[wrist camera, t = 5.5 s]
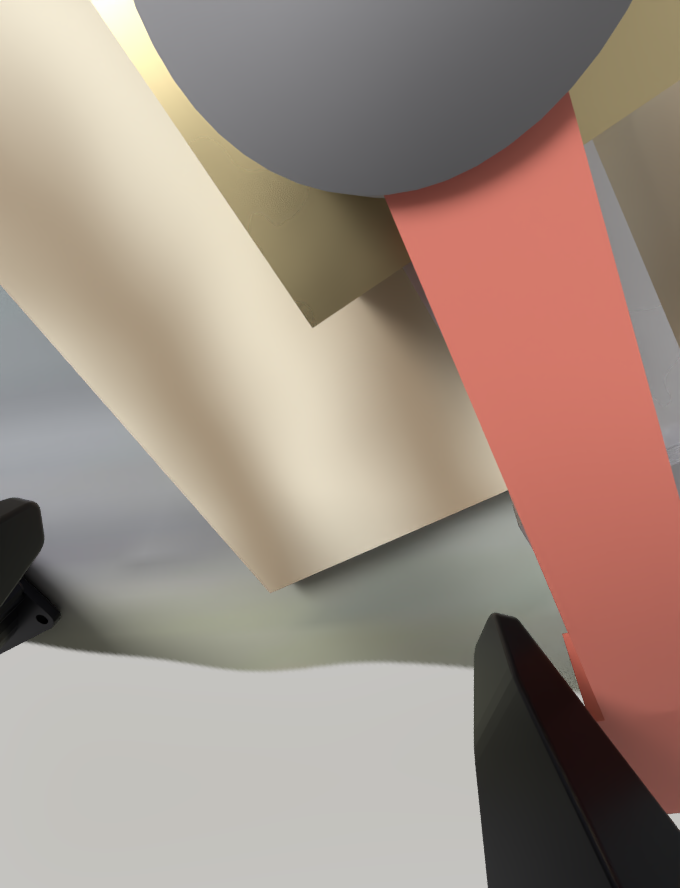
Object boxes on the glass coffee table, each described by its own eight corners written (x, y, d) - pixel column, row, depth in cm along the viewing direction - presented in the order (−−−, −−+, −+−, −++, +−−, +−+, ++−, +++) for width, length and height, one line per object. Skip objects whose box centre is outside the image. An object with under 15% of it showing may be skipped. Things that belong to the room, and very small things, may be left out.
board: (278, 571, 16) (270, 593, 15) (-76, 155, 12) (-116, 152, 11) (838, 319, 10) (877, 330, 10) (541, -686, 6) (561, -840, 5)
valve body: (473, 476, 13) (494, 597, 9) (117, -89, 9) (-131, -327, 5) (717, 365, 11) (887, 459, 7) (391, -459, 7) (341, -1428, 3)
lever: (772, 673, 8) (876, 814, 6) (541, 709, 10) (570, 836, 8) (517, -460, 4) (615, -1144, 2) (148, -99, 5) (-19, -282, 3)
